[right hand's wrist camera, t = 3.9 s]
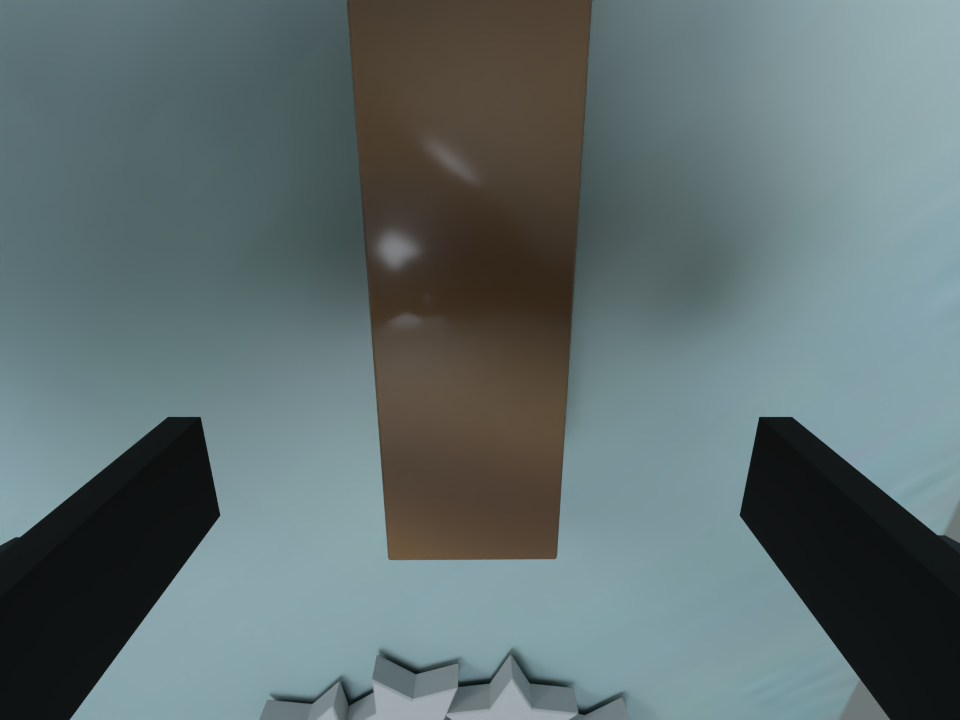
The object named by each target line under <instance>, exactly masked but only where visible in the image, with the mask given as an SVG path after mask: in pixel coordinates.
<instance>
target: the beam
mask: <svg viewBox="0 0 960 720" xmlns="http://www.w3.org/2000/svg"><path fill="white" fill-rule="evenodd" d="M591 8H592V0H347V11H348V24H349V37H350V51H351V64H352V78H353V91H354V105H355V118H356V132H357V145H358V158H359V172H360V185H361V199H362V212H363V226H364V239H365V252H366V266H367V279H368V293H369V306H370V320H371V333H372V347H373V360H374V373H375V387H376V400H377V414H378V427H379V441H380V454H381V467H382V481H383V494H384V508H385V521H386V535H387V548H388V558H389V560H483V559H556V557H557V547H558V532H559V516H560V500H561V484H562V468H563V452H564V436H565V421H566V405H567V389H568V373H569V357H570V341H571V325H572V310H573V294H574V278H575V262H576V246H577V230H578V214H579V199H580V183H581V167H582V151H583V135H584V119H585V103H586V88H587V72H588V56H589V40H590V24H591Z"/></svg>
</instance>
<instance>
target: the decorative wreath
mask: <svg viewBox="0 0 960 720" xmlns="http://www.w3.org/2000/svg"><path fill="white" fill-rule="evenodd" d="M458 670H459V663H458V664H453V665H450V666H446V667H442V668H438V669H434V670H431V671H427V672H423V673H419V674H414V673H412V672H410V671H408V670H406V669H404V668H402V667H400V666H398V665H396V664H394V663H392V662H390V661H388V660H386V659H385V658H383V657H381V656H379V655H377V657H376V662H375V667H374V672H373V678H372V681H373V690H374V692H373V693H372V694H370V695H368V696H366V697H364V698H363V699H361V700H359V701H357V702H355V703H354V704H352V705H350V706H349V705H348V702H347V700H346V697H345V694H344V691H343V689H342V686H341V683H340V681H339V682H338V683H337V684H335V685H334V686H333V687H332V688H331V689H330V690H328V691H327V692H326V693H325V694H324V695H323V696H321V697H320V698H319V699H318V700H317V701H316V702H314V703H313V704H306V703H296V702H286V701H275V700H267V701H266V704H265V707H264V709H263V712H262V714H261V717H260V720H629V718H628V715H627V711H626V707H625V704H624V700H623V697H621V698H619V699H617V700H615V701H613V702H611V703H609V704H607V705H605V706H603V707H601V708H599V709H596V710H594V711H592V712H590V713H588V714H586V715H581V714H578V708H577V703H576V697H575V692H574V688H569V687H559V686H549V685H539V684H530V683H529V682H528V680H527V679H526V677H525V676H524V674H523V672H522V671H521V669H520V668H519V666H518V665H517V663H516V662H515V660H514V658H513V657H512V655H511V654H510V655H509V657H508V658H507V660H506V661H505V663H504V664H503V665H502V667H501V668H500V670H499V671H498V673H497V674H496V675H495V677H494V678H493V680H492V681H491V683H490V684H482V685H473V686H464V687H458Z"/></svg>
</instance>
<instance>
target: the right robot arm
mask: <svg viewBox="0 0 960 720" xmlns="http://www.w3.org/2000/svg"><path fill="white" fill-rule="evenodd" d="M219 517H220V512H219V507H218V502H217V497H216V492H215V487H214V482H213V477H212V472H211V467H210V462H209V457H208V452H207V447H206V442H205V437H204V432H203V427H202V422H201V417H167V418H166V419H165V420H164V421H163V422H161V423H160V424H159V425H158V426H156V427H155V428H154V429H153V430H151V431H150V432H149V433H148V434H147V435H145V436H144V437H143V438H142V439H140V440H139V441H138V442H137V443H136V444H134V445H133V446H132V447H131V448H129V449H128V450H127V451H126V452H124V453H123V454H122V455H121V456H120V457H118V458H117V459H116V460H115V461H113V462H112V463H111V464H110V465H108V466H107V467H106V468H105V469H104V470H102V471H101V472H100V473H99V474H97V475H96V476H95V477H94V478H92V479H91V480H90V481H89V482H88V483H86V484H85V485H84V486H83V487H81V488H80V489H79V490H78V491H77V492H75V493H74V494H73V495H72V496H70V497H69V498H68V499H67V500H65V501H64V502H63V503H62V504H61V505H59V506H58V507H57V508H56V509H54V510H53V511H52V512H51V513H49V514H48V515H47V516H46V517H45V518H43V519H42V520H41V521H40V522H38V523H37V524H36V525H35V526H33V527H32V528H31V529H30V530H29V531H27V532H26V533H25V534H24V535H22V536H21V537H15V538H13V539H12V540H10V541H8V542H6V543H4V544H2V545H1V546H0V720H70V719H71V717H72V716H73V715H74V713H75V712H76V710H77V709H78V708H79V706H80V705H81V704H82V702H83V701H84V700H85V698H86V697H87V696H88V694H89V693H90V691H91V690H92V689H93V687H94V686H95V685H96V683H97V682H98V681H99V679H100V678H101V677H102V675H103V674H104V672H105V671H106V670H107V668H108V667H109V666H110V664H111V663H112V662H113V660H114V659H115V658H116V656H117V655H118V653H119V652H120V651H121V649H122V648H123V647H124V645H125V644H126V643H127V641H128V640H129V639H130V637H131V636H132V634H133V633H134V632H135V630H136V629H137V628H138V626H139V625H140V624H141V622H142V621H143V620H144V618H145V617H146V616H147V614H148V613H149V611H150V610H151V609H152V607H153V606H154V605H155V603H156V602H157V601H158V599H159V598H160V597H161V595H162V594H163V592H164V591H165V590H166V588H167V587H168V586H169V584H170V583H171V582H172V580H173V579H174V578H175V576H176V575H177V573H178V572H179V571H180V569H181V568H182V567H183V565H184V564H185V563H186V561H187V560H188V559H189V557H190V556H191V554H192V553H193V552H194V550H195V549H196V548H197V546H198V545H199V544H200V542H201V541H202V540H203V538H204V537H205V535H206V534H207V533H208V531H209V530H210V529H211V527H212V526H213V525H214V523H215V522H216V521H217V519H218V518H219ZM740 517H741V518H742V519H743V521H744V522H745V523H746V525H747V526H748V527H749V529H750V530H751V531H752V533H753V534H754V536H755V537H756V538H757V540H758V541H759V542H760V544H761V545H762V546H763V548H764V549H765V550H766V552H767V553H768V554H769V556H770V557H771V559H772V560H773V561H774V563H775V564H776V565H777V567H778V568H779V569H780V571H781V572H782V573H783V575H784V576H785V578H786V579H787V580H788V582H789V583H790V584H791V586H792V587H793V588H794V590H795V591H796V592H797V594H798V595H799V597H800V598H801V599H802V601H803V602H804V603H805V605H806V606H807V607H808V609H809V610H810V611H811V613H812V614H813V616H814V617H815V618H816V620H817V621H818V622H819V624H820V625H821V626H822V628H823V629H824V630H825V632H826V633H827V634H828V636H829V637H830V639H831V640H832V641H833V643H834V644H835V645H836V647H837V648H838V649H839V651H840V652H841V653H842V655H843V656H844V658H845V659H846V660H847V662H848V663H849V664H850V666H851V667H852V668H853V670H854V671H855V672H856V674H857V675H858V677H859V678H860V679H861V681H862V682H863V683H864V685H865V686H866V687H867V689H868V690H869V691H870V693H871V694H872V696H873V697H874V698H875V700H876V701H877V702H878V704H879V705H880V706H881V708H882V709H883V710H884V712H885V713H886V714H887V716H888V717H889V719H890V720H960V543H958V542H956V541H954V540H953V539H951V538H949V537H947V536H945V535H936V534H935V533H934V532H933V531H931V530H930V529H929V528H928V527H926V526H925V525H924V524H923V523H922V522H920V521H919V520H918V519H917V518H915V517H914V516H913V515H912V514H911V513H909V512H908V511H907V510H906V509H904V508H903V507H902V506H901V505H899V504H898V503H897V502H896V501H895V500H893V499H892V498H891V497H890V496H888V495H887V494H886V493H885V492H883V491H882V490H881V489H880V488H879V487H877V486H876V485H875V484H874V483H872V482H871V481H870V480H869V479H867V478H866V477H865V476H864V475H863V474H861V473H860V472H859V471H858V470H856V469H855V468H854V467H853V466H852V465H850V464H849V463H848V462H847V461H845V460H844V459H843V458H842V457H840V456H839V455H838V454H837V453H836V452H834V451H833V450H832V449H831V448H829V447H828V446H827V445H826V444H824V443H823V442H822V441H821V440H820V439H818V438H817V437H816V436H815V435H813V434H812V433H811V432H810V431H809V430H807V429H806V428H805V427H804V426H802V425H801V424H800V423H799V422H797V421H796V420H795V419H794V418H793V417H759V422H758V427H757V432H756V437H755V442H754V447H753V452H752V457H751V462H750V467H749V472H748V477H747V482H746V487H745V492H744V497H743V502H742V507H741V512H740Z"/></svg>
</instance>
